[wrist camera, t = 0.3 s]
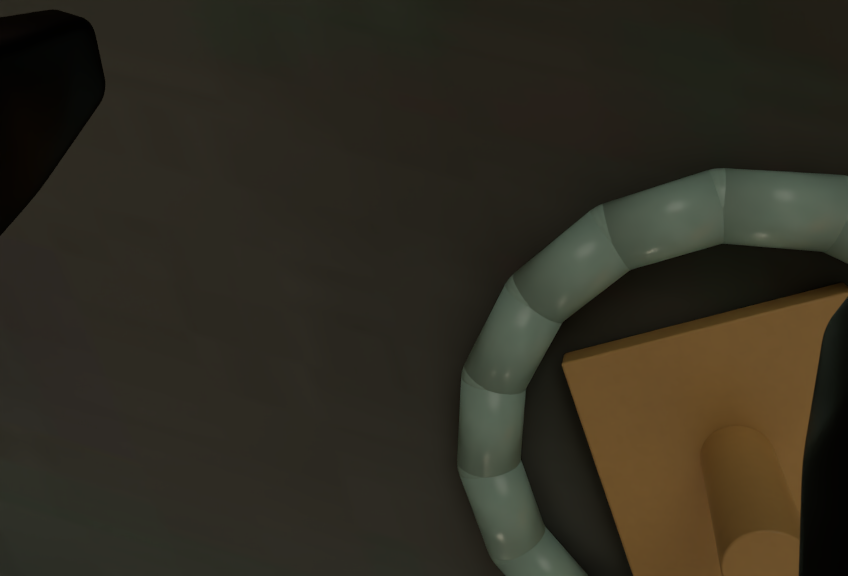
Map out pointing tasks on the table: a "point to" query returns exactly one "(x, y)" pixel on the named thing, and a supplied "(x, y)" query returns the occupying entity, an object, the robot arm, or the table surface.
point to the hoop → (581, 282)
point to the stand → (706, 435)
